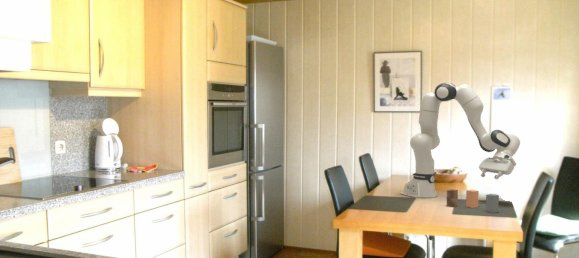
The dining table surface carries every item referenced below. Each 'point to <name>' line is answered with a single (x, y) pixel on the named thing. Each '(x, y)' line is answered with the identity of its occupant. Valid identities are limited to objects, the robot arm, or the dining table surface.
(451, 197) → the walnut bar
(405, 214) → the dining table surface
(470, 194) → the terracotta bar
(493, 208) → the charcoal bar
